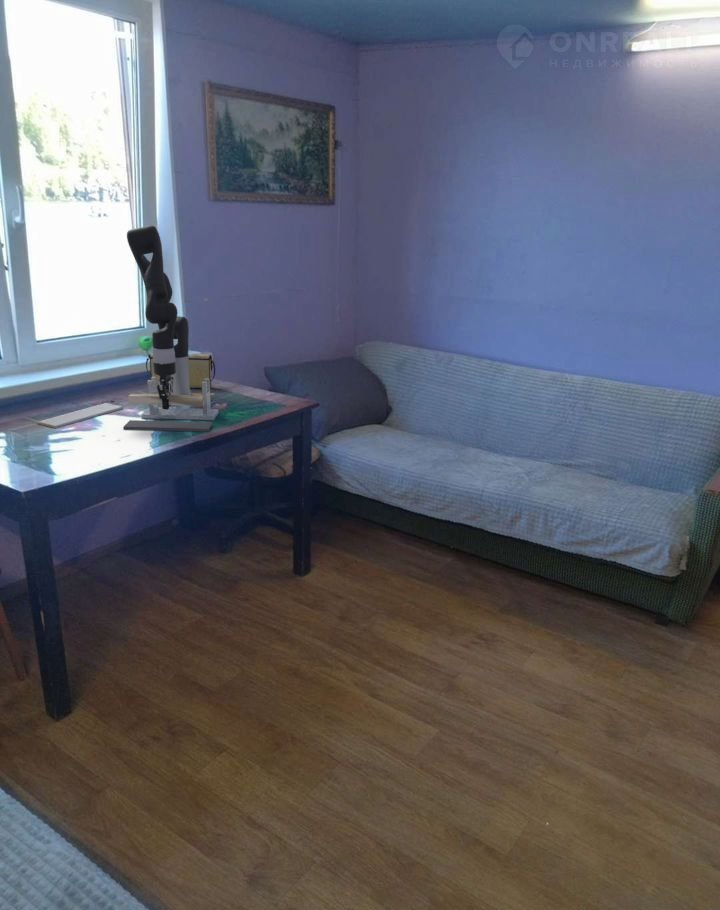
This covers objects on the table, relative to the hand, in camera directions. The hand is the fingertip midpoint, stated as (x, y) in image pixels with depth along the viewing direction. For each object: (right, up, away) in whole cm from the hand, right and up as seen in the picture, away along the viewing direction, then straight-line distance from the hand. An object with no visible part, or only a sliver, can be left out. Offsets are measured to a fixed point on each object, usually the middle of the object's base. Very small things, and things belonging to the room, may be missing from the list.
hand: (167, 407), depth 251 cm
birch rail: (0, +1, 0) cm, 1 cm away
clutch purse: (-10, +13, +59) cm, 61 cm away
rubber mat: (0, -7, +3) cm, 7 cm away
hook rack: (+1, -2, +17) cm, 17 cm away
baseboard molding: (-36, -3, +13) cm, 39 cm away
